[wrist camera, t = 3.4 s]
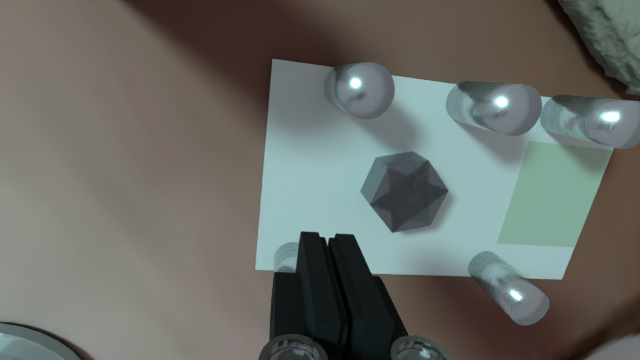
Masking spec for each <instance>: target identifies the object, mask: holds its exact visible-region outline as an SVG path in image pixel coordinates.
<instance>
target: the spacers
mask: <svg viewBox="0 0 640 360" xmlns="http://www.w3.org/2000/svg"><path fill="white" fill-rule="evenodd" d="M324 89H325V94H326V96H327V98H328V100H329V101H330V102H331V103H332V104H333V105H335V106H337V107H338V108H340V109H342V110H344V111H346V112H347V113H349V114H351V115H353V116H355V117H357V118H360V119H374V118H376V117H379V116H380V115H382V114H383V113H384V112H386V110H387V109H388V108H389V107H390V105H391V103H392V101H393V99H394V94H395V84H394V80H393V78H392V76H391V74H390V72H389V71H388V70H387V69H386V68H385V67H383V66H382V65H380V64H377V63H374V62H364V63H351V64H341V65H338V66H336V67H334V68H333V69H332V70H331V71H330V72H329V73H328V75H327V77H326V80H325V85H324ZM446 110H447V113H448V115H449V116H450V117H451V118H452V119H453V120H455V121H457V122H461V123H464V124H468V125H472V126H475V127H479V128H482V129H486V130H489V131H493V132H497V133H500V134H504V135H507V136H519V135H522V134H524V133H526V132H528V131H529V130H530V129H531V128H532V127H533V126H534V125H535V124H536V122H537V121H538V119H539V117H540V124H541V126H542V128H543V129H544V130H545V131H547V132H549V133H553V134H558V135H562V136H567V137H571V138H576V139H580V140H584V141H589V142H593V143H598V144H602V145H606V146H611V147H615V148H620V149H628V148H632V147H634V146H636V145H637V144H639V143H640V101H630V100H618V99H607V98H595V97H583V96H572V95H557V96H554V97H552V98H551V99H550V100H548V101H547V102H546V104H545V105H544V106H543V108H542V99H541V96H540V94H539V92H538V91H537V90H536V89H535V88H534V87H532V86H530V85H523V84H506V83H489V82H472V81H465V82H461V83H459V84H457V85H456V86H454V87H453V88H452V89H451V91H450V92H449V94H448V96H447V99H446ZM298 247H299V243H298V242H289V243H286V244H283V245H282V246H280V247H279V248H278V249H277V251H276V252H275V255H274V272H291V273H295V271H296V263H297V255H298ZM468 272H469V275H470V276H471V277H472V278H473V279H474V280H475V281H476V282H477V283H478V284H479V285H480V287H481V288H482V289H483V290H484V291H485V292H486V293H487V294H488V295H489V296H490V297H491V298H492V299H493V300H494V301H495V302H496V303H497V304H498V305H499V306H500V307H501V308H502V309H503V310H504V311H505V312H506V313H507V314H508V315H509V316H510V317H511V318H512V319H513V321H514V322H516V323H517V324H519V325H531V324H534V323H536V322H537V321H539V320H540V319H541V318H542V317H543V316H544V315H545V314H546V312H547V311H548V308H549V298H548V297H547V295H546V294H544V293H543V292H542V291H541V290H539V289H538V288H537V287H536V286H535V285H533V284H532V283H531V282H530V281H528V280H527V279H526V278H525V277H524V276H522V275H521V274H520V273H519V272H517V271H516V270H515V269H514V268H513V267H511V266H510V265H509V264H508V263H506V262H505V261H504V260H503V259H501V258H500V257H499V256H498V255H497V254H495V253H494V252H491V251H484V252H481V253H479V254H477V255H476V256H474V257H473V258H472V260H471V261H470V263H469V266H468Z"/></svg>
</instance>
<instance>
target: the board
mask: <svg viewBox="0 0 640 360" xmlns="http://www.w3.org/2000/svg"><path fill="white" fill-rule="evenodd" d="M333 68H334V67H328V66H321V65H314V64H307V63H300V62H292V61H285V60H278V59H272V70H271V82H270V94H269V107H268V119H267V131H266V143H265V156H264V168H263V180H262V193H261V205H260V217H259V230H258V242H257V254H256V267H255V270H274V255H275V252H276V251H277V249H278V248H279V247H280V246H282V245H283V244H286V243H289V242H298V243H299V239H300V233H301V231H307V232H319V235H320V237H325V239H326V242H327V246H328V240H329V238H330V237H331V238H334V237H335V234H336V233H339V234H354V236H355V238H356V240H357V243H358V245H359V247H360V249H361V251H362V254H363V256H364V258H365V260H366V263H367V265H368V267H369V269H370V272H371V273H375V274H406V275H438V276H469V277H471V276H470V275H469V272H468V266H469V263H470V261H471V260H472V258H473V257H474V256H476V255H477V254H479V253H481V252H484V251H491V252H494V253H495V254H497V255H498V256H499V257H500V258H501V259H503V260H504V261H505V262H506V263H508V264H509V265H510V266H511V267H513V268H514V269H515V270H516V271H517V272H519V273H520V274H521V275H522V276H524V277H525V278H532V279H562V278H563V275H564V272H565V270H566V267H567V265H568V262H569V260H570V257H571V255H572V252H573V250H574V247H575V245H576V243H577V240H578V238H579V235H580V233H581V230H582V228H583V225H584V222H585V220H586V217H587V215H588V212H589V210H590V207H591V205H592V202H593V200H594V197H595V195H596V192H597V190H598V187H599V185H600V182H601V179H602V177H603V174H604V172H605V169H606V167H607V164H608V162H609V159H610V157H611V154H612V152H613V148H614V147H611V146H606V145H602V144H598V143H593V142H589V141H584V140H580V139H576V138H571V137H567V136H562V135H558V134H553V133H549V132H547V131H545V130H544V129H543V128H542V126H541V124H540V117H539V119H538V121H537V122H536V124H535V125H534V126H533V127H532V128H531V129H530V130H529V131H528V132H526V133H524V134H522V135H519V136H507V135H504V134H500V133H497V132H493V131H489V130H486V129H482V128H479V127H475V126H472V125H468V124H464V123H461V122H457V121H455V120H453V119H452V118H451V117H450V116H449V115H448V113H447V110H446V99H447V96H448V94H449V92H450V91H451V89H452V88H453V87H454V86H456V84H449V83H442V82H435V81H428V80H421V79H414V78H407V77H399V76H392V75H391V76H392V78H393V80H394V84H395V94H394V99H393V101H392V103H391V105H390V107H389V108H388V109H387V110H386V112H384V113H383V114H382V115H380V116H379V117H376V118H374V119H360V118H357V117H355V116H353V115H351V114H349V113H347V112H346V111H344V110H342V109H340V108H338V107H337V106H335V105H333V104H332V103H331V102H330V101H329V100H328V98H327V96H326V94H325V89H324V85H325V80H326V77H327V75H328V73H329V72H330V71H331V70H332V69H333ZM541 99H542V108H543V106H544V105H545V104H546V102H547V101H548V100H550V99H551V98H549V97H542V96H541ZM410 151H413V152H415V153H417V154H418V155H420V156H422V157H424V158H425V159H427V160H429V162H430V163H431V165H432V166H433V168H434V169H435V171H436V172H437V174H438V175H439V177H440V178H441V180H442V181H443V183H444V184H445V186H446V187H447V189H448V190H449V191H448V193H447V195H446V197H445V199H444V201H443V203H442V204H441V206H440V208H439V210H438V212H437V214H436V216H435V218H434V220H433V221H432V223H431V225H430V226H426V227H421V228H416V229H410V230H405V231H400V232H395V233H392V232H391V231H390V230H389V228H388V227H387V226H386V225H385V223H384V222H383V221H382V219H381V218H380V217H379V216H378V214H377V213H376V212H375V211H374V209H373V208H372V207H371V206H370V204H369V203H368V202H367V200H366V199H365V198H364V196H363V195H362V193H361V192H360V190H361V188H362V186H363V184H364V182H365V180H366V177H367V175H368V173H369V171H370V169H371V166H372V164H373V162H374V160H375V158H376V157H380V156H386V155H392V154H398V153H404V152H410Z"/></svg>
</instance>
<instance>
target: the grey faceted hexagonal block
mask: <svg viewBox="0 0 640 360" xmlns="http://www.w3.org/2000/svg"><path fill="white" fill-rule="evenodd" d="M448 191H449V190H448V189H447V187H446V186H445V184H444V183H443V181H442V180H441V178H440V177H439V175H438V174H437V172H436V171H435V169H434V168H433V166H432V165H431V163H430V162H429V160H427V159H425V158H424V157H422V156H420V155H418V154H417V153H415V152H413V151H410V152H404V153H398V154H392V155H386V156H380V157H376V158H375V160H374V162H373V164H372V166H371V169H370V171H369V173H368V175H367V177H366V180H365V182H364V184H363V186H362V188H361V190H360V192H361V193H362V195H363V196H364V198H365V199H366V200H367V202H368V203H369V204H370V206H371V207H372V208H373V209H374V211H375V212H376V213H377V214H378V216H379V217H380V218H381V219H382V221H383V222H384V223H385V225H386V226H387V227H388V228H389V230H390V231H391V232H392V233H395V232H400V231H405V230H410V229H416V228H421V227H426V226H430V225H431V223H432V221H433V220H434V218H435V216H436V214H437V212H438V210H439V208H440V206H441V204H442V203H443V201H444V199H445V197H446V195H447V193H448Z"/></svg>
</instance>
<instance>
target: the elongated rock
mask: <svg viewBox="0 0 640 360" xmlns="http://www.w3.org/2000/svg"><path fill="white" fill-rule="evenodd" d="M557 1H558V2H559V3H560V5H561V6H562V8H563V10H564V12H565V13H567V14H568V15H569V18H570V19H571V21H572V23H573V25H575V27H576V29H577V31H578V32H579V34H580V36H581V38H582V40H583V42H584V44H585V45H586V48H587V49H588V50H589V53H590V54H591V55H592V56H593V57H594V59H595V60H596V61H597V63H598V64H600V65H601V66H602V67H603V68H604V71H605V75H606V76H609V77H613V78H616V79H617V80H618V81H620V82H622V83H623V84H625V85H627V90H626V91H625V94H630V95H640V0H557Z"/></svg>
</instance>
